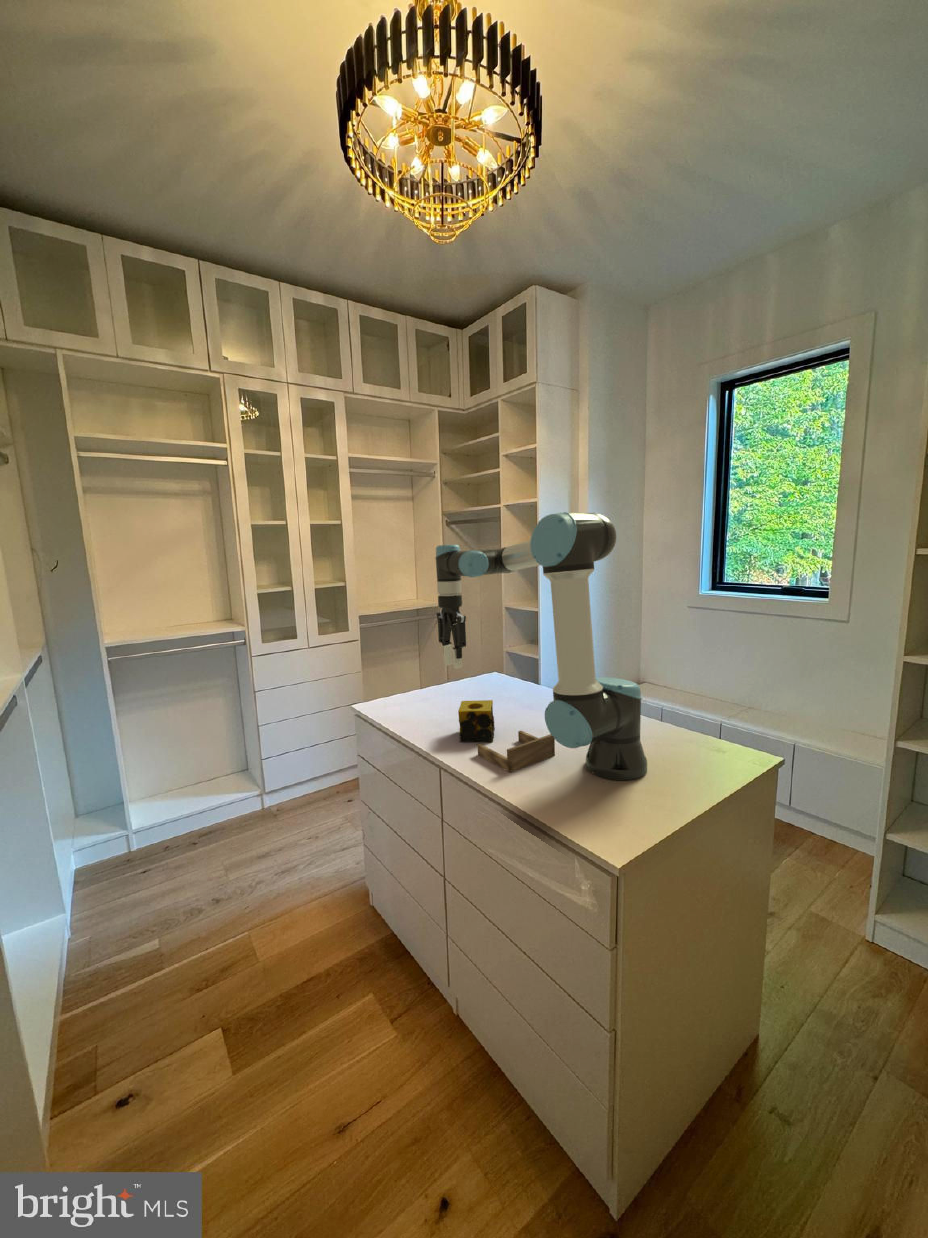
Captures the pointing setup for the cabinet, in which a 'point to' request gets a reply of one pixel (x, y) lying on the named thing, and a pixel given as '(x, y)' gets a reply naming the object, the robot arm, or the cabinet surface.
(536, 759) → the dock
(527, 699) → the cabinet surface
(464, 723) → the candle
